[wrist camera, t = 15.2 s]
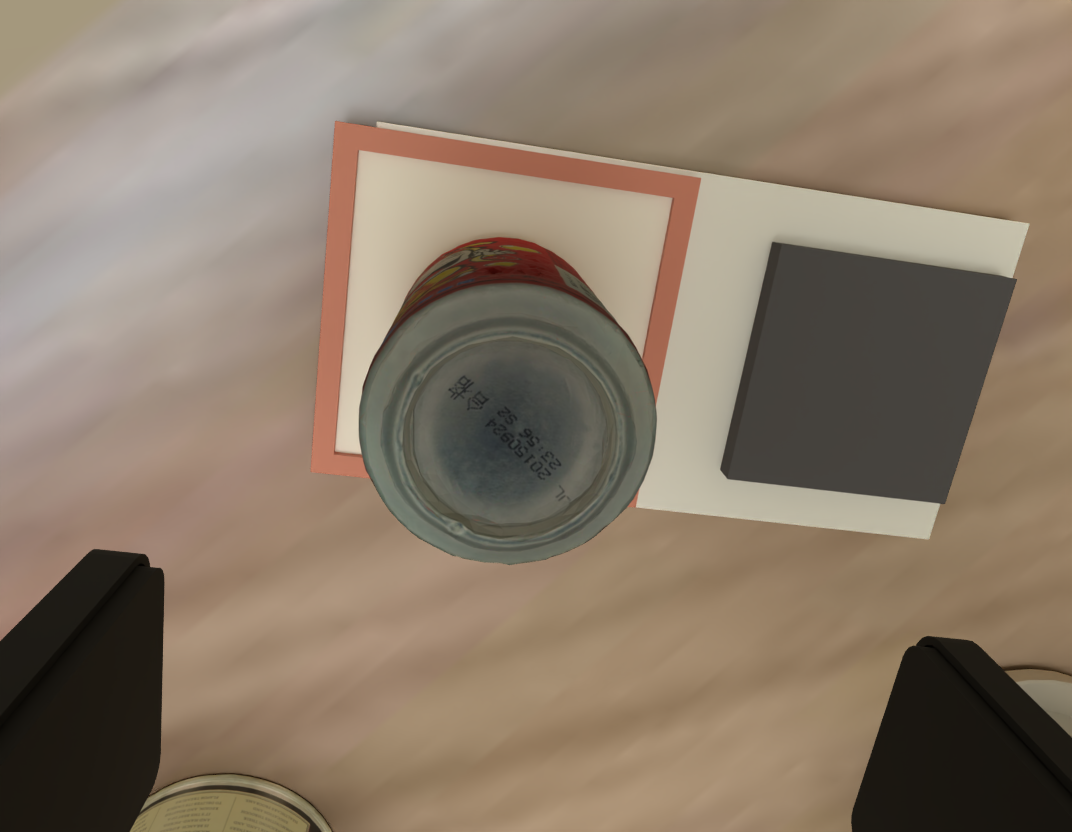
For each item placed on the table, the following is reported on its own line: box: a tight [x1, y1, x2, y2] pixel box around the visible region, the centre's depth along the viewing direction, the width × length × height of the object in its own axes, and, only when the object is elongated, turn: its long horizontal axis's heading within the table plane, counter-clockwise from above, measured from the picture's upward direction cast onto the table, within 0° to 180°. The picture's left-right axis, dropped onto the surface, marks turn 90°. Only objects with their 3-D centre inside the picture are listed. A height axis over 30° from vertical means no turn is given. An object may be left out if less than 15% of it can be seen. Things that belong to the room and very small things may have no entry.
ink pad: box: [720, 242, 1017, 504], centre depth 31 cm, size 9×9×1 cm
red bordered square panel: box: [311, 121, 701, 507], centre depth 30 cm, size 13×13×1 cm
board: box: [376, 122, 1029, 539], centre depth 31 cm, size 24×13×1 cm, turn 81°
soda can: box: [359, 237, 657, 565], centre depth 24 cm, size 7×7×12 cm
